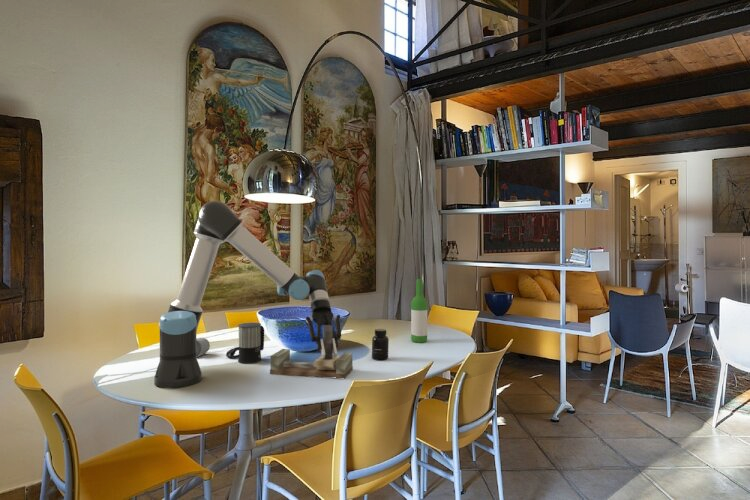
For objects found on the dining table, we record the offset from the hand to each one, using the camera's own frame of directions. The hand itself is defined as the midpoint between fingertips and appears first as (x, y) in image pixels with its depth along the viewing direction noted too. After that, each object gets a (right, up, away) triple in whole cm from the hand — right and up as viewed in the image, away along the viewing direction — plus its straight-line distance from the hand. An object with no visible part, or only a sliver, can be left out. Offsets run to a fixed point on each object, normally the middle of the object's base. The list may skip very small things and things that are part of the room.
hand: (329, 355), depth 168 cm
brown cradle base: (-7, -7, +5) cm, 11 cm away
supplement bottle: (+18, -7, +24) cm, 31 cm away
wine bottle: (+38, -6, +57) cm, 68 cm away
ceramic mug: (-60, -7, +28) cm, 66 cm away
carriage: (-1, -5, +4) cm, 6 cm away
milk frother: (-38, -7, +22) cm, 44 cm away
